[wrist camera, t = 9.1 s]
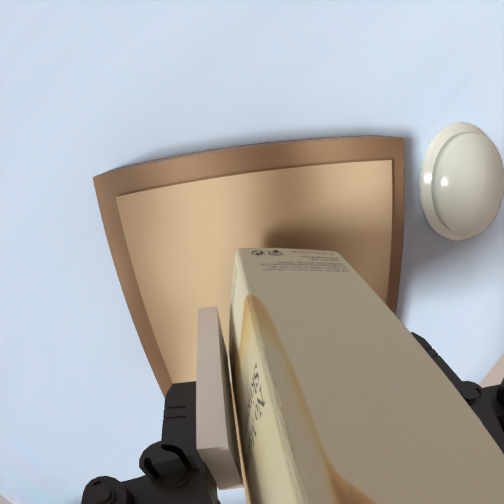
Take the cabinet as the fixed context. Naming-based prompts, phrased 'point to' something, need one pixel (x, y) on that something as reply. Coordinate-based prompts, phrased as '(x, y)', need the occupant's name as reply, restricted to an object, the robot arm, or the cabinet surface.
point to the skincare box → (344, 394)
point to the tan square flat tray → (245, 228)
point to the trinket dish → (461, 182)
